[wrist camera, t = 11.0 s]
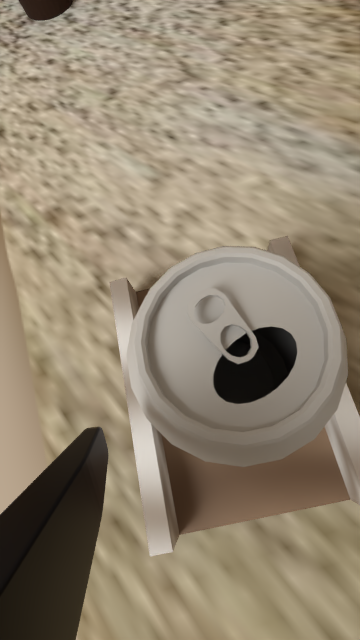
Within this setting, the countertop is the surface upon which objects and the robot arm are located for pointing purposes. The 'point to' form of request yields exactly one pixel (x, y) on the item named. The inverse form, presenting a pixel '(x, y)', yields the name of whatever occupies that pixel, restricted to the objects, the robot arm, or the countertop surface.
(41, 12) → the coffee mug
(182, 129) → the countertop surface
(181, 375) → the can
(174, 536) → the floor track
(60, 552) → the robot arm
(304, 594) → the countertop surface
